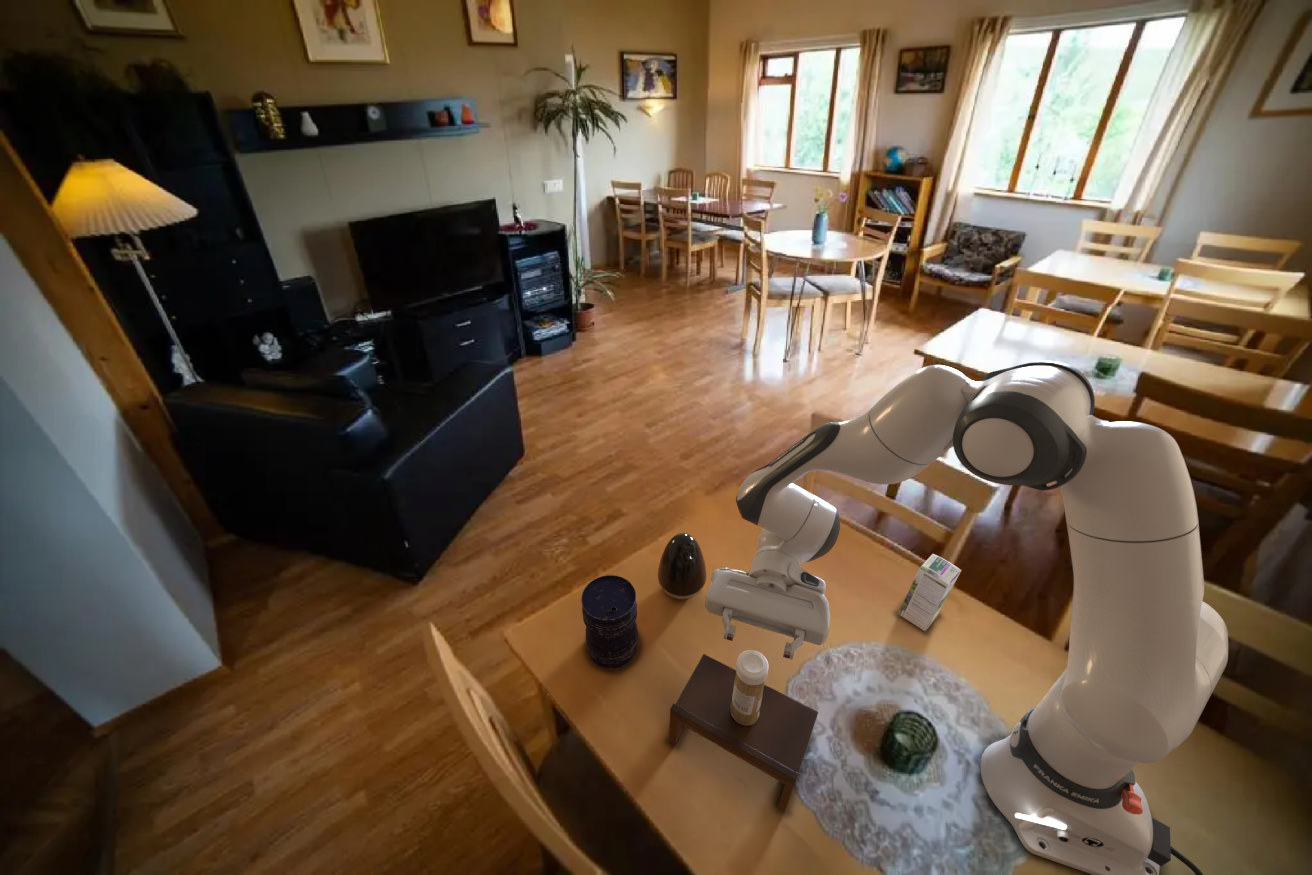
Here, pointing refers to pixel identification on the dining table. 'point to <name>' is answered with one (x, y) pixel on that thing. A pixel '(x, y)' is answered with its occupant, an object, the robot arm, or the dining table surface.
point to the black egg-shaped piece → (682, 567)
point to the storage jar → (610, 621)
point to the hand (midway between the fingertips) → (757, 646)
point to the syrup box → (929, 591)
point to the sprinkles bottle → (748, 687)
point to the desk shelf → (762, 744)
